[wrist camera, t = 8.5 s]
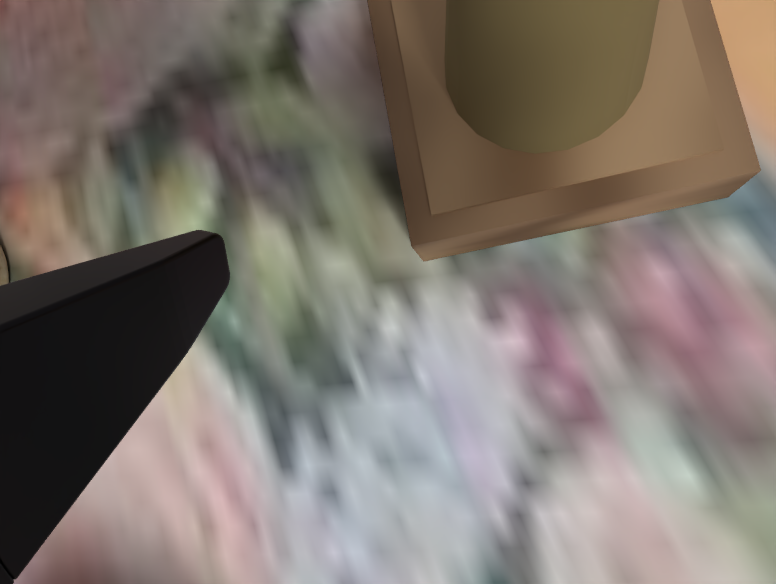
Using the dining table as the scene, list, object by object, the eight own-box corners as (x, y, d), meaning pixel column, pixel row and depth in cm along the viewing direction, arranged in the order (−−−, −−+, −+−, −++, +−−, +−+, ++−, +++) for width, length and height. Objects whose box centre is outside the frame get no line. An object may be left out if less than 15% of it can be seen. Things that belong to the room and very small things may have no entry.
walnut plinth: (423, 261, 20) (410, 245, 17) (377, 10, 22) (359, -39, 19) (727, 197, 18) (763, 168, 16) (651, -72, 20) (672, -137, 17)
